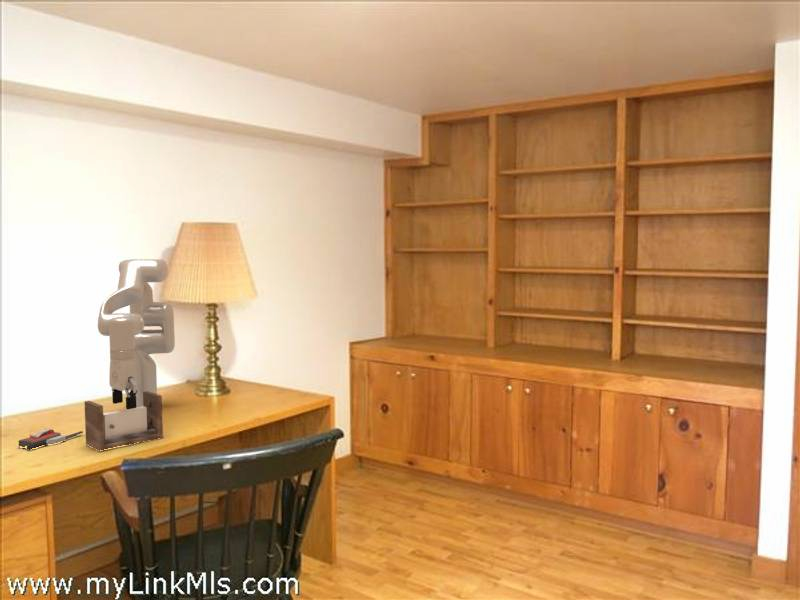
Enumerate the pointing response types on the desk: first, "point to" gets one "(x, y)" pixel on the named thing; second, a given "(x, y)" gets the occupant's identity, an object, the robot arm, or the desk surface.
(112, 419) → the door panel
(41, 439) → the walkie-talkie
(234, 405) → the desk surface
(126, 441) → the brown wooden book rack
